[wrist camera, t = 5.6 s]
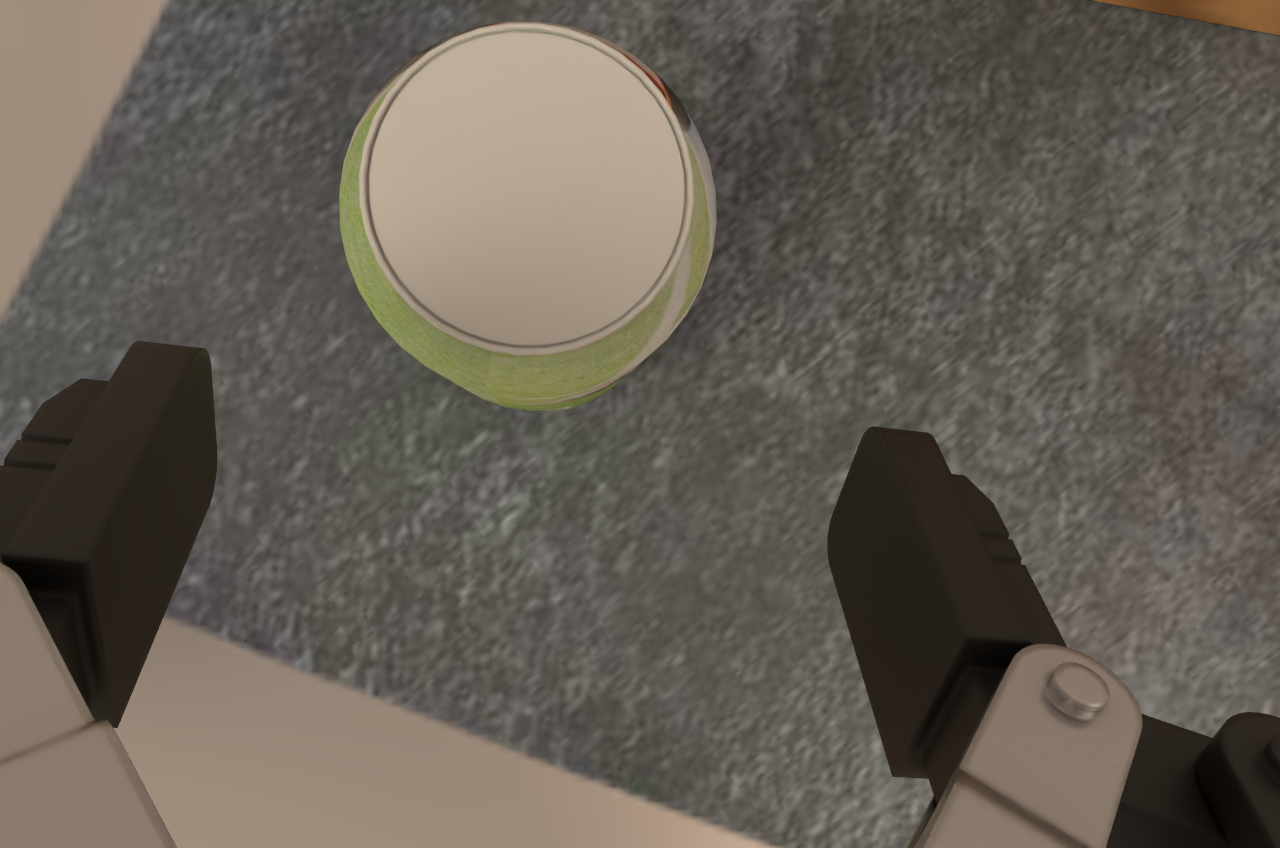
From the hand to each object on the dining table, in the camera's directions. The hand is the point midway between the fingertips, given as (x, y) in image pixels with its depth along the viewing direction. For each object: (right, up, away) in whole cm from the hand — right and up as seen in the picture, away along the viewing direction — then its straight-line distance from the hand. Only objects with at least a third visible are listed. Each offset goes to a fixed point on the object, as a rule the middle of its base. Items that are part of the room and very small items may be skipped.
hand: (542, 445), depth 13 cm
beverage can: (-2, +3, +14) cm, 14 cm away
